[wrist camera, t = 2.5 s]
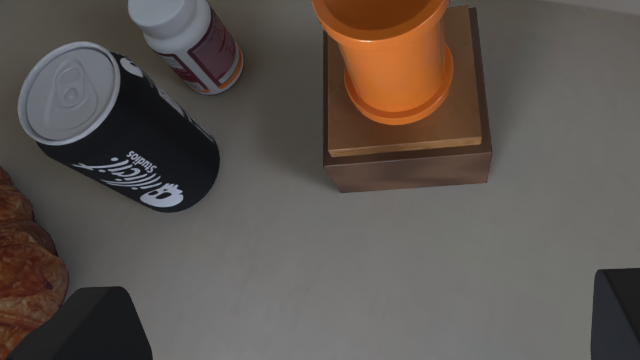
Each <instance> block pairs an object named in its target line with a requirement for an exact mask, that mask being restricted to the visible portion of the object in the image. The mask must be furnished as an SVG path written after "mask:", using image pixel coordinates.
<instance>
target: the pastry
mask: <svg viewBox="0 0 640 360" xmlns="http://www.w3.org/2000/svg"><path fill="white" fill-rule="evenodd" d="M68 285H69V273H68V271H67V269H66V267H65V264H64V262H63V260H62V259H61V258H59V257H58V254H57V251H56V248H55V245H54V243H53V241H52V239H51V237H50V235H49V234H48V232H46V231H45V230H44V229H42V228H40V227H38V225H37V223H36V222H35V220H34V213H33V205H32V204H31V202H30V201H29V200H28V199H27V198H26V197H25V196H24V195H23V194H21V193H20V192H19V191H18V189H17V188H16V187H14V186H13V183H12V181H11V178H10V176H9V175H8V173H7V172H5V171H4V170H3V168H2V167H1V166H0V360H5V358H6V357H7V356H8V354H9V353H10V352H11V351H12V350H13V349H14V348H15V347H16V346H17V345H18V344H19V343H20V342H21V341H22V339H23V338H24V337H25V336H26V335H28V334H29V333H31V332H32V331H33V330H35V329H36V328H38V327H39V326H40V325H42V324H43V323H45V322H46V321H47V320H49V319H50V318H51V317H52V316H53V315H54V314H55V313H56V312H57V311H58V310H59V308H60V307H61V306H62V304H63V302H64V299H65V296H66V292H67V289H68Z"/></svg>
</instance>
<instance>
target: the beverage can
mask: <svg viewBox="0 0 640 360" xmlns="http://www.w3.org/2000/svg"><path fill="white" fill-rule="evenodd" d="M18 117H19V121H20V123H21V126H22V128H23V129H24V131H25V132H26V133H27V134H28V135H29V136H30V137H31V138H33V139H35V141H36V143H37V144H38V146H39V147H40V148H41V150H42V151H43V152H44V153H45V154H46V155H48V156H49V157H50V158H52V159H54V160H56V161H58V162H60V163H62V164H64V165H66V166H68V167H70V168H72V169H74V170H76V171H78V172H80V173H82V174H84V175H86V176H88V177H90V178H92V179H94V180H96V181H98V182H100V183H101V184H103V185H105V186H107V187H109V188H111V189H113V190H115V191H117V192H119V193H121V194H123V195H125V196H127V197H129V198H131V199H133V200H135V201H137V202H139V203H141V204H143V205H145V206H147V207H149V208H151V209H153V210H156V211H159V212H166V213H171V212H178V211H182V210H185V209H187V208H189V207H191V206H193V205H194V204H196V203H198V202H199V201H200V200H201V199H202V198H203V197H204V196H205V195H206V194H207V193H208V192H209V190H210V189H211V187H212V186H213V184H214V182H215V180H216V177H217V174H218V171H219V164H220V156H219V150H218V147H217V144H216V142H215V140H214V138H213V137H212V136H211V135H210V133H209V132H207V131H206V130H205V129H204V128H203V127H202V126H201V125H200V124H199V123H198V122H197V121H196V120H195V119H193V118H192V117H191V116H190V115H189V114H188V113H187V112H186V111H185V110H184V109H183V108H182V107H181V106H179V105H178V104H177V103H176V102H175V101H174V100H173V99H172V98H171V97H170V96H169V95H168V94H167V93H166V92H164V91H163V90H162V89H161V88H160V87H159V86H158V85H157V84H156V83H155V82H154V81H153V80H152V79H150V78H149V77H148V76H147V75H146V74H145V73H144V72H143V71H142V70H141V69H140V68H139V67H138V66H136V65H135V64H134V63H133V62H132V61H131V60H130V59H129V58H127V57H126V56H124V55H122V54H120V53H118V52H115V51H112V50H107V49H105V48H104V47H102V46H101V45H99V44H96V43H93V42H88V41H78V42H72V43H68V44H65V45H62V46H60V47H58V48H56V49H54V50H53V51H51V52H49V53H48V54H47V55H45V56H44V57H43V58H42V59H41V60H40V61H39V62H38V63H37V64H36V65H35V66H34V67H33V68H32V70H31V71H30V72H29V74H28V75H27V77H26V79H25V81H24V83H23V85H22V88H21V90H20V94H19V98H18Z"/></svg>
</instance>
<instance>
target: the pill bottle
mask: <svg viewBox="0 0 640 360" xmlns="http://www.w3.org/2000/svg"><path fill="white" fill-rule="evenodd" d="M128 12H129V15H130V17H131V19H132V20H133V21H134V22H135V24H136V25H137V26H138V27H139V28H140V29H141V30H142V31H143V35H144V38H145V40H146V42H147V44H148V45H149V47H150V48H151V49H152V50H153V51H154V52H155V53H156V54H157V55H159V56H160V58H161V59H162V60H164V62H165V63H167V65H169V66H170V67H171V68H172V69H173V70H174V72H175V73H177V74H178V75H179V76H180V77H181V79H182V80H183V81H184V82H185V83H186V84H187V85H188V86H189V87H190V88H191V89H193V90H194V91H196V92H197V93H200V94H204V95H213V94H218V93H220V92H223V91H225V90H227V89H228V88H230V87H231V86H232V85H233V84H234V83H235V82H236V80H237V79H238V78H239V76H240V74H241V72H242V69H243V54H242V51H241V49H240V48H239V46H238V45H237V43H236V42H235V40H234V39H233V38H232V36H231V35H230V33H229V32H228V31H227V29H226V28H225V26H224V25H223V23H222V22H221V21H220V19H219V18H218V16H217V15H216V14H215V12H214V11H213V9H212V8H211V6H210V5H209V3H208V1H207V0H129V1H128Z"/></svg>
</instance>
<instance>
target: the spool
mask: <svg viewBox="0 0 640 360" xmlns="http://www.w3.org/2000/svg"><path fill="white" fill-rule="evenodd" d="M449 2H450V0H312V4H313V8H314V10H315V12H316V15H317V17H318V20H319V22H320V24H321V26H322V27H323V29H324V30H325V31H326V32H327V34H328V35H329V36H331V37H332V38H333V39H334V40H336V41H337V44H338V47H339V49H340V52H341V55H342V57H343V60H344V63H345V65H346V66H345V72H344V79H345V85H346V89H347V92H348V94H349V97H350V99H351V101H352V103H353V104H354V106H355V107H356V108H357V109H358V110H359V111H360V112H361V113H362V114H363V115H365V116H366V117H367V118H369V119H371V120H373V121H376V122H379V123H383V124H388V125H403V124H409V123H413V122H416V121H418V120H421V119H423V118H425V117H427V116H428V115H430V114H431V113H433V112H434V111H435V110H436V109H437V108H438V107H440V105H441V104H442V103H443V102H444V101H445V99H446V97H447V96H448V94H449V92H450V90H451V87H452V83H453V77H454V69H453V58H452V54H451V51H450V49H449V47H448V45H447V44H446V43H445V37H444V12H445V11H446V9H447V7H448V4H449Z"/></svg>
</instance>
